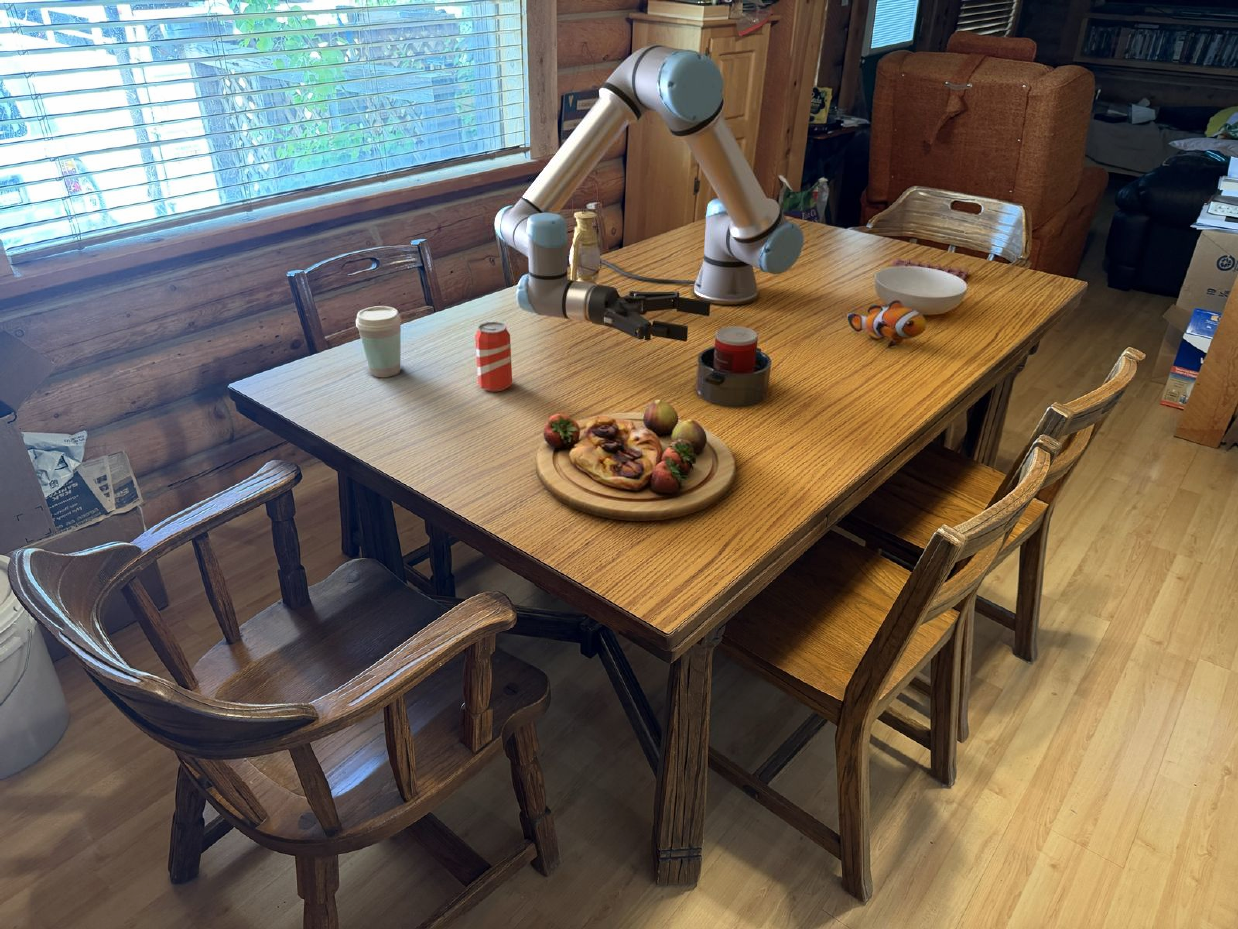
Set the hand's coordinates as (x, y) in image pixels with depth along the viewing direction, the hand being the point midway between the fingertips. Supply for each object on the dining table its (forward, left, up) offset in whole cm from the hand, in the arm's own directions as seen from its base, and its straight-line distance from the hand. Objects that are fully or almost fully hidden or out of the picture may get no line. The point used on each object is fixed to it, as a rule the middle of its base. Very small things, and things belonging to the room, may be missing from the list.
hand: (698, 321), depth 162 cm
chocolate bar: (+18, +94, -13) cm, 97 cm away
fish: (+23, +41, -13) cm, 49 cm away
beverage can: (-31, -23, -13) cm, 40 cm away
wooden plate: (+7, -34, -13) cm, 37 cm away
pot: (+7, +1, -13) cm, 15 cm away
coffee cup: (-53, -30, -13) cm, 62 cm away
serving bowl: (+23, +66, -13) cm, 71 cm away
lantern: (-43, +24, -13) cm, 51 cm away
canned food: (+7, +1, -12) cm, 14 cm away
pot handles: (+7, +1, -8) cm, 11 cm away
